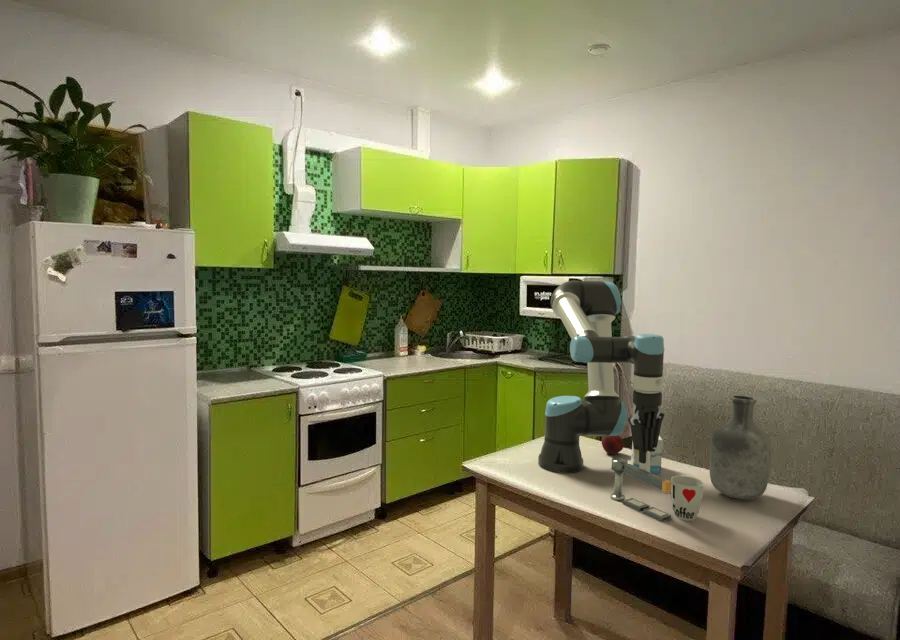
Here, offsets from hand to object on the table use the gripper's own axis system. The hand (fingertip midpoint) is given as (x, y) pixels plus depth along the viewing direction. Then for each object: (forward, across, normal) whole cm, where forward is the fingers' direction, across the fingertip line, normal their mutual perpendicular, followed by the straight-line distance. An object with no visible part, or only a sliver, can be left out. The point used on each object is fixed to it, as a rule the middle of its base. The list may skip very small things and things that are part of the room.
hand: (644, 473), depth 153 cm
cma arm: (+1, -2, 0) cm, 2 cm away
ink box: (+11, +28, +21) cm, 37 cm away
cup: (+10, +5, -10) cm, 15 cm away
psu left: (+10, -1, +2) cm, 10 cm away
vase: (+11, +33, -8) cm, 36 cm away
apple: (+11, +30, +37) cm, 49 cm away
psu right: (+10, -1, -5) cm, 11 cm away
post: (+10, -1, +8) cm, 13 cm away
